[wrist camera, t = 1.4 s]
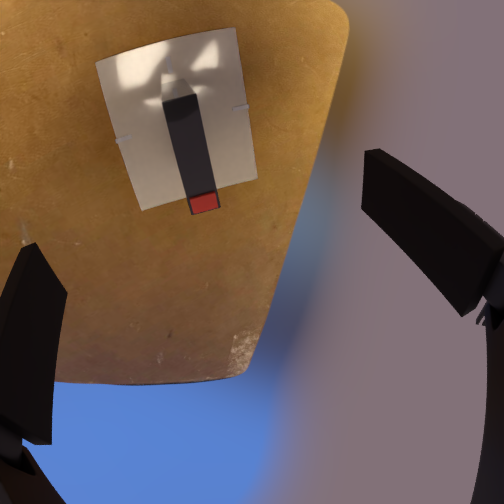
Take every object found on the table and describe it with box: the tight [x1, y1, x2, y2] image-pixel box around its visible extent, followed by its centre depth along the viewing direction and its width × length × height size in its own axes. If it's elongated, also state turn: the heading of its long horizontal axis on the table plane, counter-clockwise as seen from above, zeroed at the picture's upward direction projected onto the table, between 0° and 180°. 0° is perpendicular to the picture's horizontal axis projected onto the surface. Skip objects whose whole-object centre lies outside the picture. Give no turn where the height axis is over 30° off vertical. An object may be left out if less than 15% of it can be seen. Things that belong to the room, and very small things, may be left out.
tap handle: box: [162, 78, 221, 215], centre depth 19 cm, size 7×2×9 cm, turn 8°
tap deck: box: [95, 27, 258, 211], centre depth 24 cm, size 14×11×3 cm
